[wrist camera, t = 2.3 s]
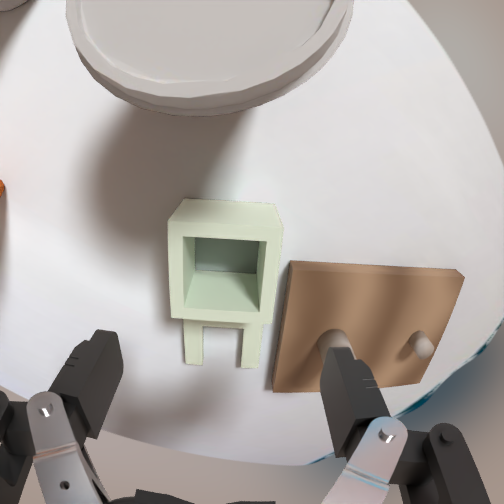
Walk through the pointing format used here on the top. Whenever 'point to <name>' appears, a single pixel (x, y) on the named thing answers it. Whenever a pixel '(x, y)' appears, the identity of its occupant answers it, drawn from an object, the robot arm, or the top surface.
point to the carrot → (1, 187)
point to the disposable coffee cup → (205, 49)
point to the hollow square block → (223, 273)
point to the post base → (362, 320)
